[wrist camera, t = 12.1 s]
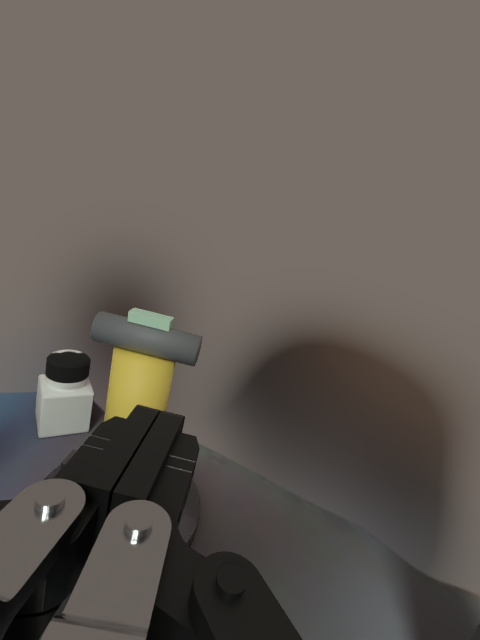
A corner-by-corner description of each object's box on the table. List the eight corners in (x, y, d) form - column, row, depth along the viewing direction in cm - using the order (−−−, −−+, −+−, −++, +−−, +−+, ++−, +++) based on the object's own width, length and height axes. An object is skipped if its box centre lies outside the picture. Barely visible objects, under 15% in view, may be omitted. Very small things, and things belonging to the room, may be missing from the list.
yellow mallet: (172, 485, 43) (208, 318, 36) (157, 527, 37) (196, 337, 31) (92, 464, 43) (114, 295, 36) (65, 502, 37) (85, 309, 31)
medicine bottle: (89, 432, 56) (99, 364, 53) (38, 439, 52) (45, 365, 49) (82, 408, 62) (90, 345, 59) (34, 413, 58) (41, 345, 55)
